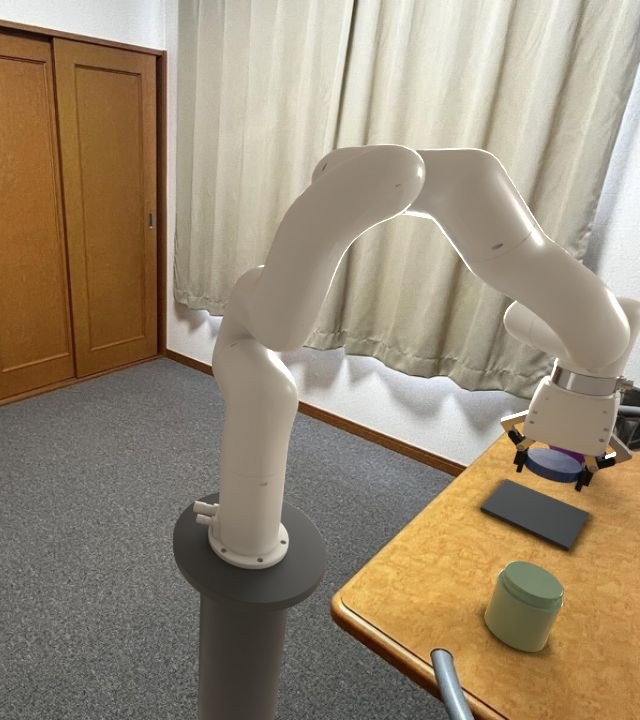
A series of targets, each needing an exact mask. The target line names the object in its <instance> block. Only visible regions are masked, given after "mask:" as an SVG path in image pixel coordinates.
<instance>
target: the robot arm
mask: <svg viewBox="0 0 640 720" xmlns="http://www.w3.org/2000/svg"><path fill="white" fill-rule="evenodd" d="M521 195H522V194H520V191H519V190H518V188H517V187H516V185H515V184H514V182H513V180H512V179H511V177H510V176H509V174H508V172H507V170H506V169H505V167H504V166H503V164H502V163H501V161H500V160H499V159H498V158H497V157H496V156H495V155H494V154H492V153H490V152H489V151H486V150H484V149H479V148H474V147H473V148H471V147H463V148H435V149H432V148H431V149H430V148H429V149H412V148H410V147H407V146H404V145H400V144H397V143H396V144H393V143H378V144H376V143H375V144H366V145H365V144H364V145H349V146H342V147H340V148H336V149H334V150H332V151H329V153H327V154H325V155H324V156H323V157H322V158H321V159H320V160H319V161H318V163H317V164H316V166H315V167H314V170H313V172H312V175H311V179H310V184H309V185H308V186H307V187H306V188H305V189H304V190H303V191H302V192H301V193H300V194H299V195H298V196H296V198H295V200H293V202H292V203H291V204H290V206H289V207H288V208H287V210H286V211H285V213H284V215H283V216H282V218H281V220H280V222H279V224H278V227H277V230H276V231H275V234H274V237H273V240H272V243H271V246H270V248H269V251H268V253H267V255H266V259H265V262H264V264H262V265H257V266H255V267H252V268H250V269H249V270H246V272H244V273H243V274H242V275H241V276H240V277H239V278H238V279H237V280H236V281H235V283H234V285H233V287H232V288H231V291H230V293H229V295H228V299H227V302H226V305H225V308H224V312H223V316H222V318H221V322H220V326H219V329H218V333H217V336H216V339H215V343H214V347H213V350H212V358H211V371H212V374H213V377H214V379H215V382H216V384H217V386H218V388H219V391H220V394H221V396H222V398H223V400H224V405H225V418H224V423H223V428H222V431H221V442H220V469H219V492H220V493H219V504H214V505H209V504H206V503H203V502H199V501H196V500H195V501H194V502H195V504H194V508H193V512H194V513H198V515H197V519H196V522H197V523H200V524H206V525H209V530H208V539H209V543H210V545H211V547H212V549H213V550H214V552H215V553H216V554H217V555H218V556H219V557H220V558H221V559H223V560H224V561H226V562H227V563H229V564H232V565H234V566H237V567H240V568H245V569H263V568H268V567H270V566H273V565H275V564H277V563H278V562H280V561H281V560H282V559H283V558H284V556H285V554H286V553H287V549H288V543H289V539H288V534H287V531H286V529H285V528H284V526H283V525H282V523H281V522H280V520H281V511H282V501H283V500H284V491H285V481H286V471H287V460H288V452H289V444H290V437H291V433H292V428H293V425H294V422H295V420H296V417H297V413H298V409H299V403H300V401H299V400H300V399H299V398H300V397H299V396H300V395H299V389H298V386H297V383H296V381H295V379H294V377H293V375H292V373H291V372H290V370H289V369H288V368H287V367H286V365H285V364H284V363H283V362H282V360H281V359H280V358H279V357H278V356H277V355H276V354H275V353H278V354H290V353H293V352H296V351H298V350H300V349H301V348H303V347H304V346H305V345H307V343H308V342H309V341H310V339H311V338H312V336H313V334H314V331H315V329H316V326H317V324H318V321H319V319H320V317H321V313H322V310H323V308H324V305H325V302H326V299H327V296H328V293H329V291H330V288H331V285H332V282H333V280H334V277H335V275H336V272H337V270H338V268H339V266H340V263H341V261H342V258H343V257H344V255H345V253H346V252H347V250H348V249H349V247H350V246H351V245H352V244H353V243H354V241H355V240H356V239H357V238H359V237H360V236H361V235H363V234H364V233H365V232H366V231H368V230H370V229H371V228H373V227H374V226H376V225H378V224H380V223H383V222H385V221H388V220H390V219H394V218H395V217H397V216H401V215H402V216H403V215H404V216H406V215H407V216H408V215H409V216H415V217H420V218H427V219H431V220H433V221H434V222H435V224H436V225H437V226H438V227H439V229H440V230H441V232H442V233H443V235H445V236H446V238H447V240H448V241H449V242H450V244H451V245H452V246H453V248H454V249H455V251H456V252H457V253H458V255H459V257H460V258H461V260H462V261H463V262H464V264H465V265H466V266H467V268H468V269H469V271H470V272H471V273H472V274H473V275H474V276H475V277H476V278H477V279H479V280H480V281H481V282H483V283H484V284H486V285H487V286H489V287H490V289H491V288H492V289H493V290H494V291H496V292H498V293H500V294H502V295H504V296H506V297H508V298H509V299H511V300H513V301H514V302H513V303H511V304H510V305H509V306H508V307H507V309H506V311H505V314H504V316H503V326H504V328H505V330H506V332H507V333H508V334H509V335H510V336H511V337H512V338H513V339H515V340H517V341H518V342H520V343H522V344H525V345H527V346H528V347H531V348H533V349H536V350H538V351H541V352H544V353H545V354H548V355H549V356H553V357H554V358H555V361H554V363H553V366H552V370H551V373H550V375H545V376H543V378H541V381H540V382H539V384H538V386H537V388H535V389H536V390H535V392H534V394H533V396H532V399H531V401H530V404H529V406H528V407H527V408H528V409H527V410H525V411H521V412H519V413H515V414H512V415H509V416H505V417H502V418H501V420H500V422H499V424H500V425H501V427H502V428H503V430H504V432H505V433H506V434H507V437H508V438H509V439H510V441H511V442H512V443H513V445H514V446H515V449H516V452H515V455H514V459H513V462H512V465H516V469H515V473H518V474H520V473H521V474H522V473H523V469H524V467H525V464H524V463H525V460H526V457H527V454H528V450H530V447H531V446H532V445H534V444H535V443H536V442H538V443H541V444H545V445H547V446H548V445H551V446H555V447H558V448H562V449H566V450H569V451H573V452H576V453H580V454H583V456H584V459H585V462H584V463H582V465H581V466H582V470H581V473H580V475H579V478H578V480H577V481H576V482H574V488H573V490H574V491H575V492H578V493H581V491H582V490H583V487H586V488H589V485H590V484H591V481H592V479H593V476H594V473H598V472H599V471H600V469H601V470H604V469H608V468H611V467H615V466H616V465H617V464H622V463H625V462H627V461H630V460H632V459H633V452H632V451H631V449H629V448H628V447H627V445H626V444H625V443H624V442H623V441H622V440H621V439H620V438H618V436H617V435H615V433H614V429H615V425H616V422H617V417H618V412H619V408H620V403H621V392H620V390H629V391H631V390H633V387H634V384H635V381H634V380H631V379H628V378H625V376H624V375H623V374H624V371H625V368H626V366H627V363H628V361H629V359H630V356H631V353H632V352H633V349H634V347H635V343H636V340H637V339H638V336H639V334H640V301H639V300H636V299H634V298H631V297H627V296H622V295H617V294H614V292H613V291H612V289H611V288H610V287H609V286H608V285H607V284H606V283H605V282H604V281H603V280H602V279H601V278H600V277H599V276H598V275H597V274H595V272H593V271H592V270H591V269H589V268H588V267H587V266H586V265H585V264H583V263H582V262H581V261H579V259H577V258H576V257H574V256H573V255H572V254H571V253H569V251H567V250H566V249H565V248H563V247H562V246H561V245H559V244H558V243H557V242H555V241H554V240H553V239H551V238H549V237H548V235H547V234H546V233H545V232H544V231H543V229H542V227H540V225H539V223H538V221H537V220H536V218H535V216H534V215H533V213H532V211H531V210H530V208H529V206H528V205H527V203H526V202H525V200H524V198H523V197H522V196H521ZM522 423H523V424H522ZM519 424H522V429H521V432H522V433H520V431H519V429H517V428H516V425H519ZM608 446H609V447H610V448H611V449H612V450H613V451H614V452H612V453H611V454H610V453H607V455H603V454H604V452H605V451H606V452H607V448H608ZM601 455H603V456H601ZM597 456H600V457H597ZM200 514H202V515H200ZM204 514H205V515H209V516H211V517H207V516H204Z"/></svg>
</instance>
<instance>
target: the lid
mask: <svg viewBox="0 0 640 720" xmlns="http://www.w3.org/2000/svg"><path fill="white" fill-rule="evenodd" d="M524 467H525V468H526V469H527V470H528V471H529V472H530V473H533V475H536V476H538V477H540V478H542V479H545V480H548V481H551V482H555V483H560V484H572V483H573V484H574V483H575V482H576V481H577V480H578V478H579V475H580V473H581V470H582V466H581V464H580V463H579V462H578V461H577V460H575V459H574V458H572V457H570V456H568V455H566V454H564V453H561V452H559V451H555V450H552V449H550V448H545V447H532V448H529V450H528V454H527V457H526V460H525V463H524Z"/></svg>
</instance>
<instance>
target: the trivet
mask: <svg viewBox="0 0 640 720" xmlns="http://www.w3.org/2000/svg"><path fill="white" fill-rule="evenodd" d="M480 511H482V512H483V513H486V514H488V515H491V516H493V517H495V518H497V519H499V520H501V521H503V522H505V523H508V524H510V525H512V526H513V527H516V528H518V529H519V530H523V531H525V532H527V533H528V534H531V535H533V536H535V537H538V538H540V539H542V540H544V541H546V542H547V543H551V544H553V545H555V546H557V547H559V548H561V549H562V550H565V551H569V550H570V549H571V547H572V545H573V543H574V542H575V540H576V539H577V537H578V535H579V533H580V532H581V530H582V528H583V526H584V524H585V522H586V521H587V519H588V517H589V515H590V512H588V511H586V510H584V509H581V508H579V507H576V506H574V505H571V504H569V503H566V502H564V501H561V500H559V499H557V498H554V497H552V496H549V495H547V494H544V493H542V492H540V491H537V490H535V489H533V488H530V487H528V486H525V485H523V484H520V483H518V482H515V481H513V480H510V479H508V478H505V479H504V481H502V482H501V484H500V485H499V486H498V488H496V490H494V492H493V493H492V494H491V495H490V496H489V498H488V499H486V501H485V502H484V503H483V505H481V507H480Z"/></svg>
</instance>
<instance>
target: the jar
mask: <svg viewBox="0 0 640 720" xmlns="http://www.w3.org/2000/svg"><path fill="white" fill-rule="evenodd" d="M564 594H565V589H564V587H563V584H562V583H561V582H560V581H559V579H558V578H557V577H556V576H554V575H553V574H552V573H551V572H550V571H548V570H547V569H545V568H544V567H541V566H539V565H537V564H535V563H533V562H530V561H529V562H528V561H525V560H513V561H510V562H508V563H507V564H506V565H505V567H504V568H503V569H502V570H501V571H500V572H499V573H498V575H497V577H496V581H495V583H494V586H493V588H492V592H491V594H490V597H489V600H488V603H487V606H486V609H485V610H484V615H483V616H484V617H483V618H484V622H485V625H486V626H487V628H488V630H489V631H490V632H491V633H492V634H493V635H494V636H495V637H496V638H497V639H498V640H500V641H501V642H502V643H504V644H505V645H507V646H509V647H511V648H514V649H516V650H518V651H522V652H525V653H526V652H527V653H535V652H539V651H542V650H543V649H544V647H545V646H546V644H547V641H548V639H549V637H550V634H551V632H552V630H553V628H554V626H555V623H556V621H557V620H558V616H559V615H560V612H561V610H562V608H563V604H564V600H563V596H564Z"/></svg>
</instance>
